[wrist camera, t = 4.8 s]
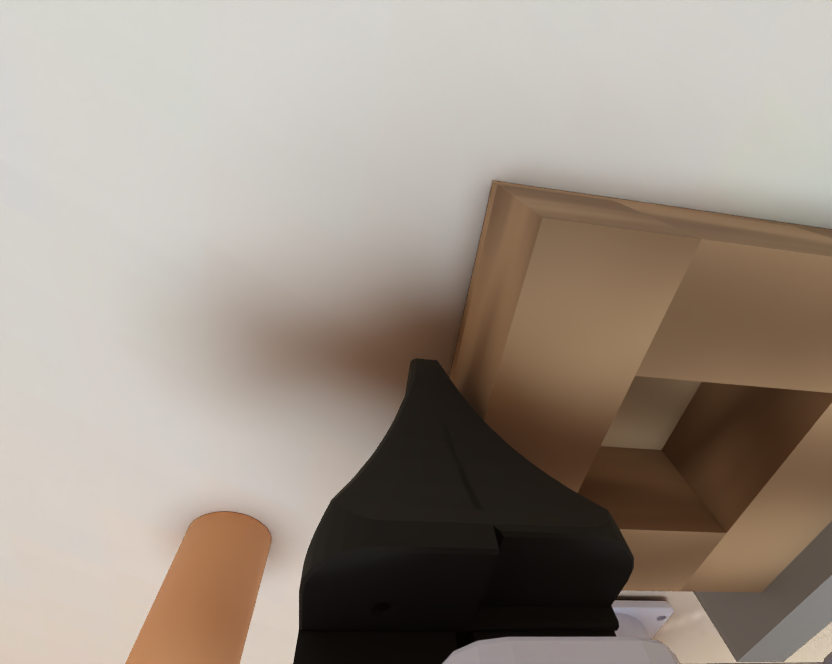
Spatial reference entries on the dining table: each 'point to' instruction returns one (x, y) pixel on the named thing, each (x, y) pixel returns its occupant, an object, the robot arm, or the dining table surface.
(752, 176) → the dining table surface
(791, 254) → the socket block
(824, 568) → the wall
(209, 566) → the dowel
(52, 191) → the dining table surface
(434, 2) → the dining table surface
